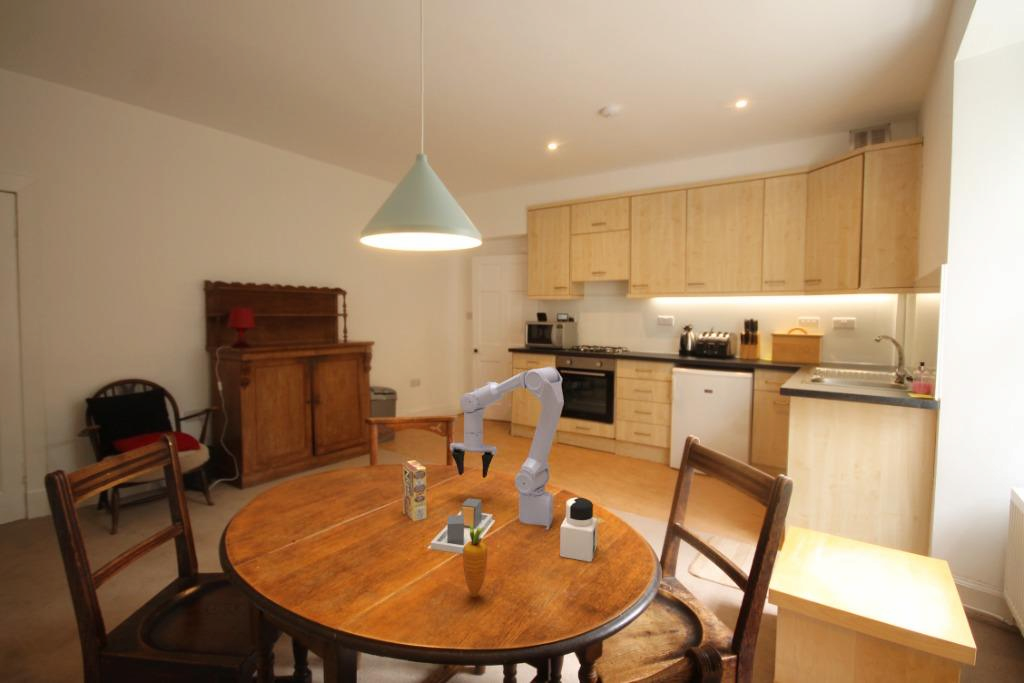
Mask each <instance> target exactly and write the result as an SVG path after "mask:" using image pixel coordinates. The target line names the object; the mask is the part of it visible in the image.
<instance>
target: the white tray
mask: <svg viewBox="0 0 1024 683" xmlns="http://www.w3.org/2000/svg"><path fill="white" fill-rule="evenodd" d="M456 515H461V510H460V511H459V512H458V513H457V514H456ZM493 516H494V515H493V514H491V513H484V512H482V519H481V522H480V524H479V525H478V526H477V527H476V528H475V529H474V535H475V533H476V530H477V528H482V527H483V528H484V530H483V531H482V532H481V534H480V535H479V538H480V537H481V538H482V539H483V537H485V535H486V533H487V532H488V531H489V530H490V529H491V527H492V526H493V524H494V523H495V522H496V520H495V519H493ZM447 526H448V524H446V526H444V528H443V529H442V530H441V531H440V532H439V533H438V534H437V535H436V536H435V537H434V538H433V539H432V540H431V542H430V545H429V546H428V547H427V549H430V550H437V551H443V552H449V553H454V554H455V553H456V554H460V555H461V554H462V555H463V548H464V546H465V545H466V544H467V543H468V542H469V541H472V540H471V537H470V528H466V527H464V545H457V544H451V543H447ZM479 538H478V539H479Z"/></svg>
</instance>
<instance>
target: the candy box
mask: <svg viewBox="0 0 1024 683" xmlns="http://www.w3.org/2000/svg"><path fill="white" fill-rule="evenodd" d="M401 464H402V513H403V514H404V516H406V515H407V516H408V517H409V519H410V520H412V521H413V522H416V521H420V520H424V519H427V468H426V467H425V466H424V465H422V464H421V463H420V462H418V461H416V460H408V461H403V462H402V463H401Z"/></svg>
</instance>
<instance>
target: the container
mask: <svg viewBox="0 0 1024 683" xmlns="http://www.w3.org/2000/svg"><path fill="white" fill-rule="evenodd" d="M559 531H560V539H559V540H560V541H559V543H560V546H559V556H560V557H562V558H565V559H566V558H567V559H573V560H576V561H577V560H578V561H583V562H589V563H591V562H593V559H594V555H595V552H596V549H597V547H598V546H597V542H598V541H597V538H598V536H597V534H598V518H597V517H594V504H593V502H592V501H591V500H589V499H587V498H584V497H572V498H569V499H568V500H566V503H565V518H564V520H563V521H562V523H561V525H560V530H559Z"/></svg>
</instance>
